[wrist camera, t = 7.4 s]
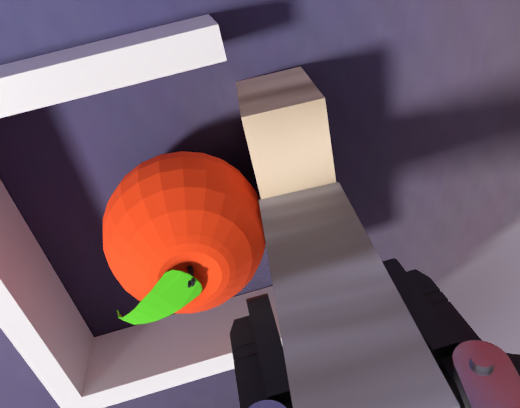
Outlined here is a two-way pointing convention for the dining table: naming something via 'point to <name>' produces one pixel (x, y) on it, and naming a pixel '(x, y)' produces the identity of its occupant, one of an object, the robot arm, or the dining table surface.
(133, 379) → the box
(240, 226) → the clementine
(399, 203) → the dining table surface
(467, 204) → the dining table surface
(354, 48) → the dining table surface
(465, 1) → the dining table surface
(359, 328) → the silver bent metal strip
